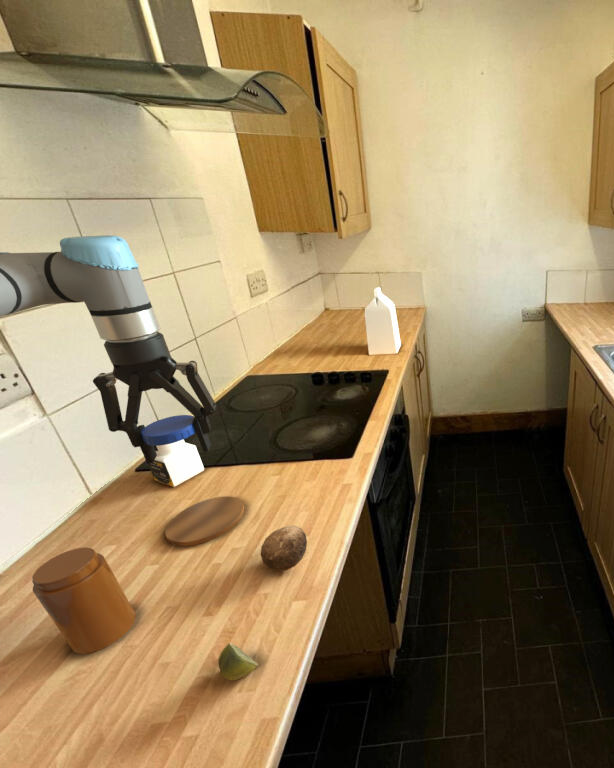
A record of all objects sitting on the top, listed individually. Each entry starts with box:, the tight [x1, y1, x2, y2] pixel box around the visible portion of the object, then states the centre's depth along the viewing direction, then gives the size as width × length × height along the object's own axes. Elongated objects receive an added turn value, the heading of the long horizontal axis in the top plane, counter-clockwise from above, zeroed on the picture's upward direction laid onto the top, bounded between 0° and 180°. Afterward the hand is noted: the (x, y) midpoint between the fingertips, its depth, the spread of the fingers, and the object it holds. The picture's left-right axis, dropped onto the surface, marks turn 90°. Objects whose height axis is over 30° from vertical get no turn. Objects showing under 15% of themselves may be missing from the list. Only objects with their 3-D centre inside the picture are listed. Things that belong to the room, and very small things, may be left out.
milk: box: [364, 286, 402, 356], centre depth 173 cm, size 12×12×26 cm
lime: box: [217, 642, 259, 681], centre depth 56 cm, size 4×5×5 cm
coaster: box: [164, 496, 245, 547], centre depth 84 cm, size 13×13×1 cm
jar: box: [31, 546, 137, 655], centre depth 60 cm, size 7×7×14 cm
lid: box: [141, 414, 196, 446], centre depth 75 cm, size 8×8×2 cm
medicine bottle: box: [145, 439, 205, 488], centre depth 95 cm, size 7×7×12 cm
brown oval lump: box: [260, 524, 308, 572], centre depth 74 cm, size 8×8×6 cm
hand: (180, 453), depth 77 cm, fingers closed on lid, 8 cm apart
